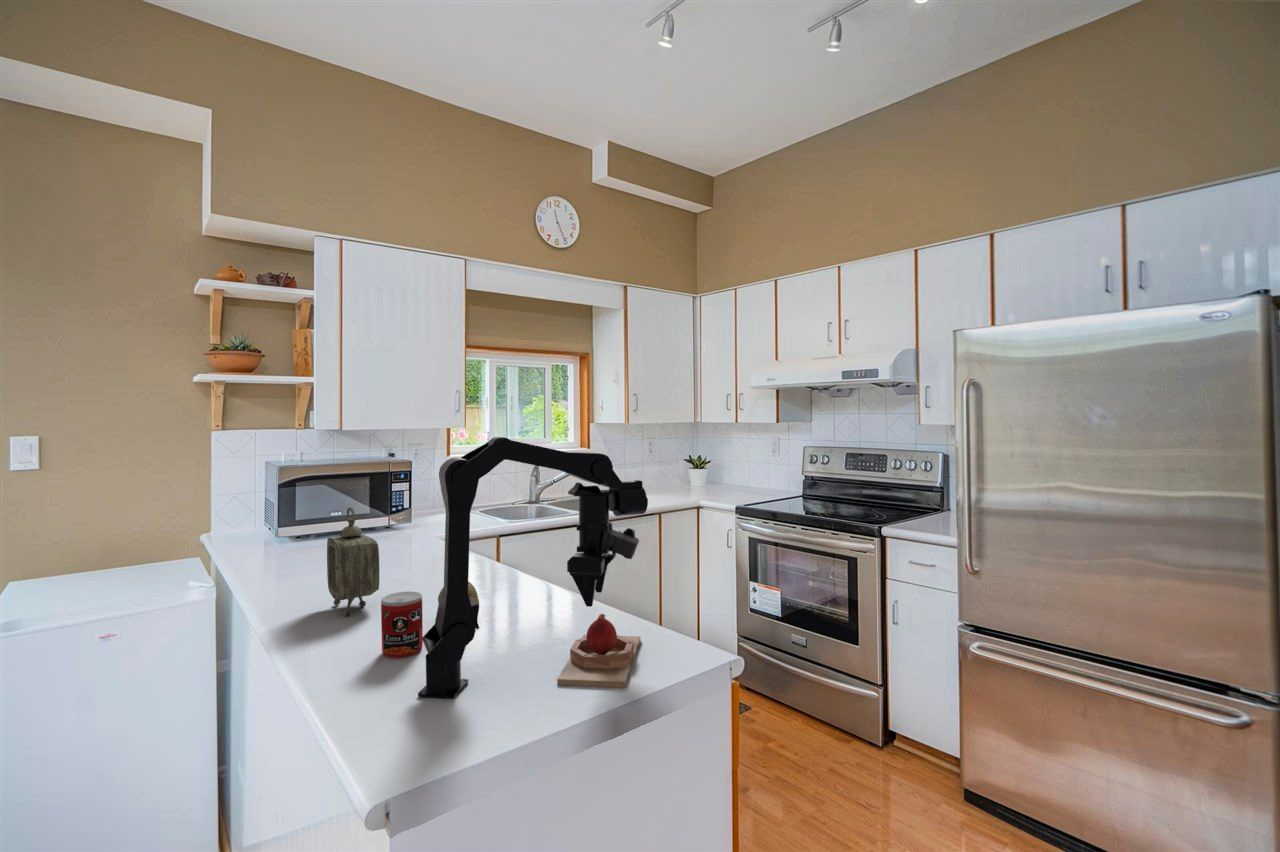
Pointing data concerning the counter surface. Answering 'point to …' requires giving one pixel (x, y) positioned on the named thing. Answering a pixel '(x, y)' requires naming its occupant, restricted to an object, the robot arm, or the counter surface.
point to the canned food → (401, 624)
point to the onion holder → (600, 664)
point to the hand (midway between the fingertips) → (594, 599)
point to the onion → (601, 636)
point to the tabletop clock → (352, 565)
